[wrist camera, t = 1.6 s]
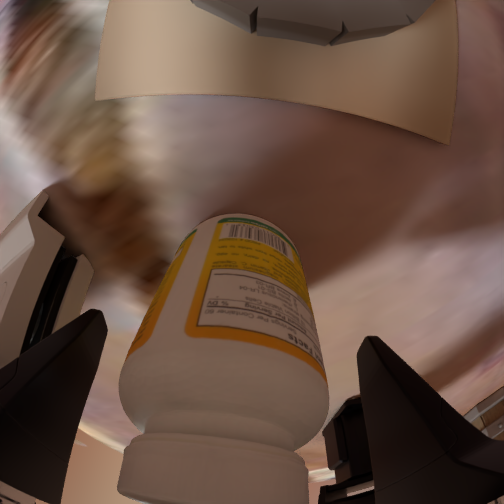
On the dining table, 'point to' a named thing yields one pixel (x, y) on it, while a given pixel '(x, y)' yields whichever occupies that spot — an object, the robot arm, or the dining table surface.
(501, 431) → the tankard
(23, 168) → the dining table surface
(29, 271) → the grey piece
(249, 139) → the dining table surface
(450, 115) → the ring holder
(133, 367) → the supplement bottle
